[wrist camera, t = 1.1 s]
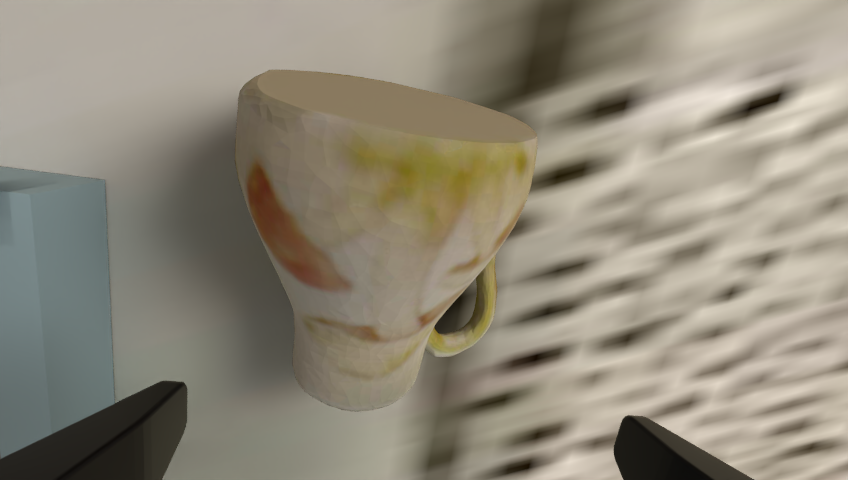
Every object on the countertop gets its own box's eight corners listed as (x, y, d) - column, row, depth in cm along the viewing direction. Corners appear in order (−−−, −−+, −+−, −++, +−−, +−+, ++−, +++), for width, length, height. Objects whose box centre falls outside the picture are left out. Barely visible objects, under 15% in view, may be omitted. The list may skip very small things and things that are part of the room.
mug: (266, 371, 15) (-18, 358, 6) (357, 151, 18) (263, -95, 9) (459, 439, 14) (487, 555, 5) (524, 194, 17) (621, -32, 8)
